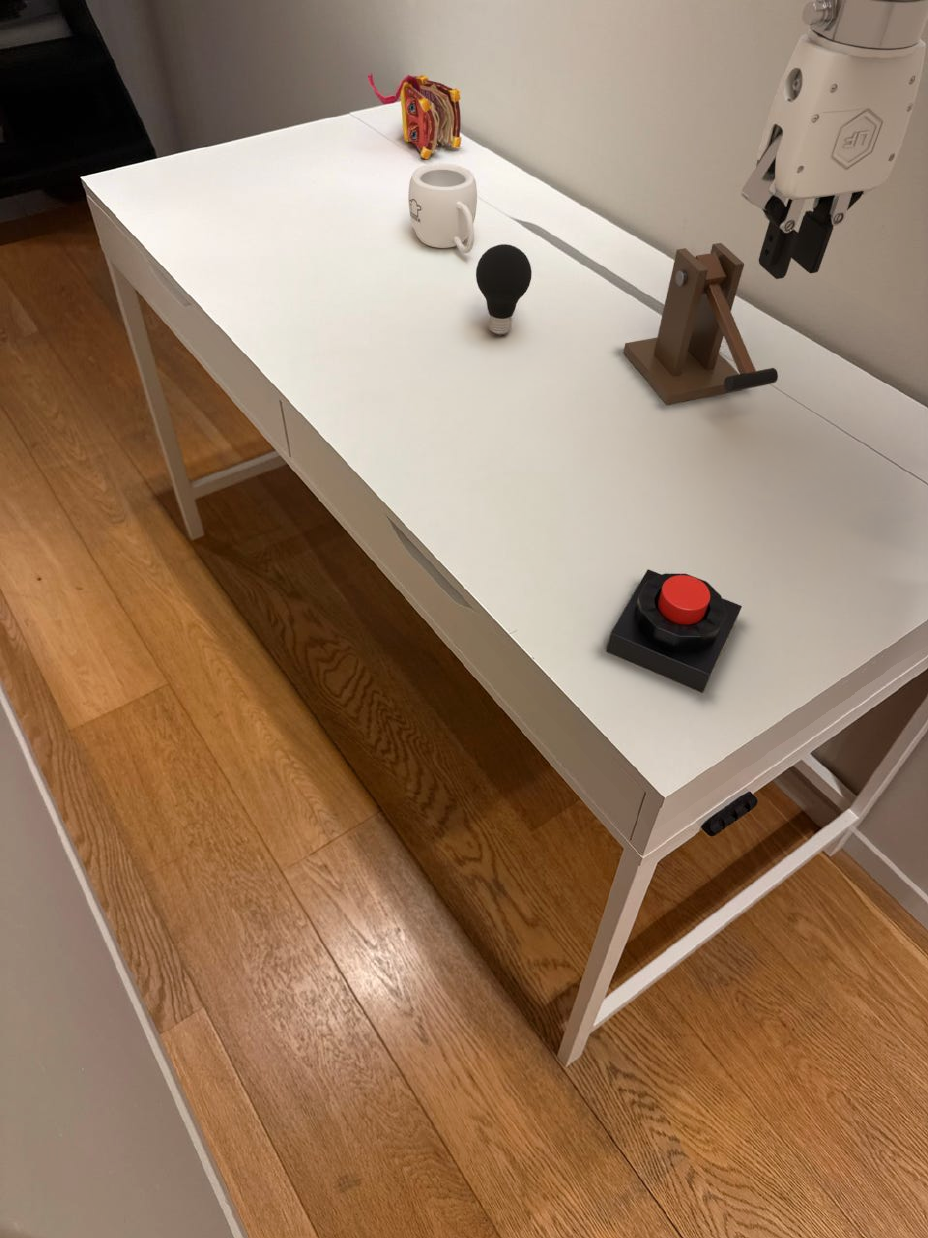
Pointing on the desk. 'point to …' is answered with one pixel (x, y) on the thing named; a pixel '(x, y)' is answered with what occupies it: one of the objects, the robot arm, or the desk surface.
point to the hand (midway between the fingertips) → (787, 266)
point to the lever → (731, 331)
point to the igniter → (672, 634)
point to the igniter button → (683, 599)
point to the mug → (443, 205)
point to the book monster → (427, 112)
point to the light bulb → (503, 283)
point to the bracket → (688, 333)
